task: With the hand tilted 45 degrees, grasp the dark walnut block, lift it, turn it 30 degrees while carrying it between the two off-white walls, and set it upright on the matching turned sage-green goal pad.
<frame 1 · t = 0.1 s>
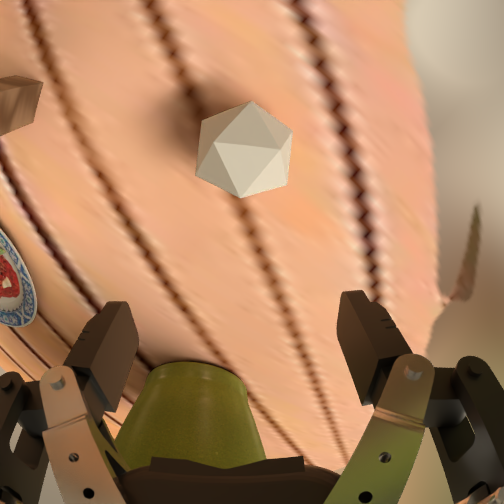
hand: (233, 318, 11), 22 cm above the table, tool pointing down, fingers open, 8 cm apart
walnut block: (24, 98, 23), on the table
plant pot: (195, 385, 52), on the table
die: (244, 142, 29), on the table
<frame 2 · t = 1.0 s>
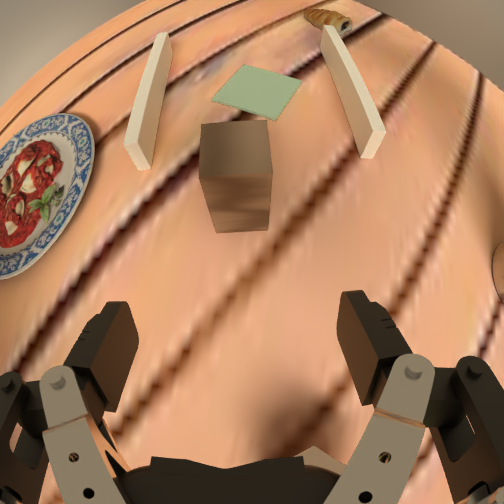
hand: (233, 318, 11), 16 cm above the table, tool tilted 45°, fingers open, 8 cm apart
walnut block: (241, 208, 30), on the table
arena: (250, 90, 36), on the table
ceramic plate: (27, 194, 32), on the table
die: (300, 478, 21), on the table
pastry: (327, 27, 43), on the table
goal pad: (258, 90, 36), on the table
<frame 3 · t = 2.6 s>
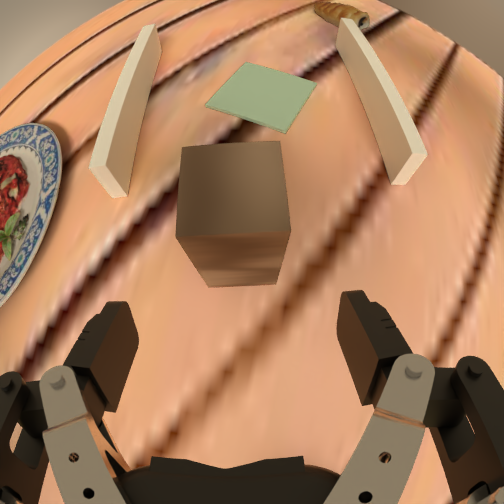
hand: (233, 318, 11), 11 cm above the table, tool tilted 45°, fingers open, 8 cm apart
walnut block: (240, 254, 23), on the table
arena: (254, 94, 29), on the table
pastry: (341, 23, 37), on the table
goal pad: (263, 94, 29), on the table
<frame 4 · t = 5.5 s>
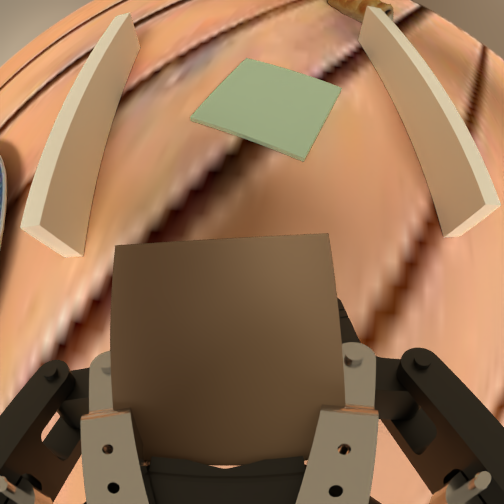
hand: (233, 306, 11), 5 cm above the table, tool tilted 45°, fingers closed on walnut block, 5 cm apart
walnut block: (241, 354, 15), on the table, touching gripper
arena: (258, 102, 21), on the table
pastry: (359, 17, 29), on the table
goal pad: (270, 101, 21), on the table
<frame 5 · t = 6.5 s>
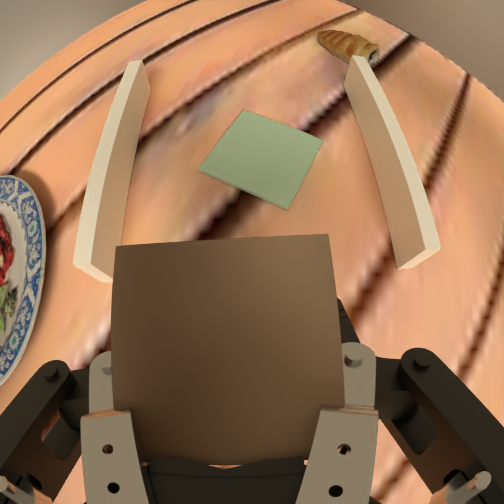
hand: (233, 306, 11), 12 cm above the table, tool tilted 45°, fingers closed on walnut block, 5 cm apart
walnut block: (241, 354, 15), point 7 cm above the table, touching gripper
arena: (253, 155, 28), on the table
pastry: (347, 56, 36), on the table
goal pad: (263, 154, 28), on the table
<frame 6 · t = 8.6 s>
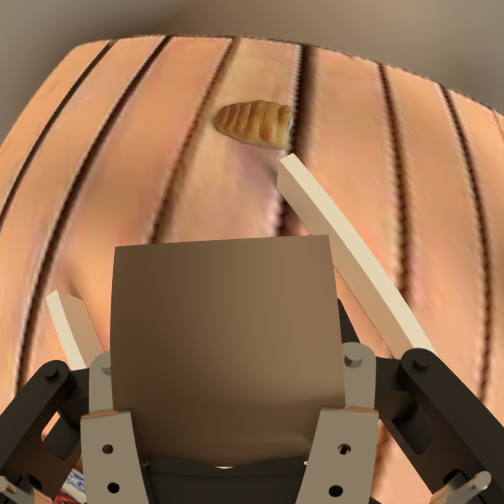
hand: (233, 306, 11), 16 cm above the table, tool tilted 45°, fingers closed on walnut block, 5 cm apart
walnut block: (241, 354, 15), point 11 cm above the table, touching gripper
arena: (237, 348, 26), on the table
pastry: (258, 132, 35), on the table
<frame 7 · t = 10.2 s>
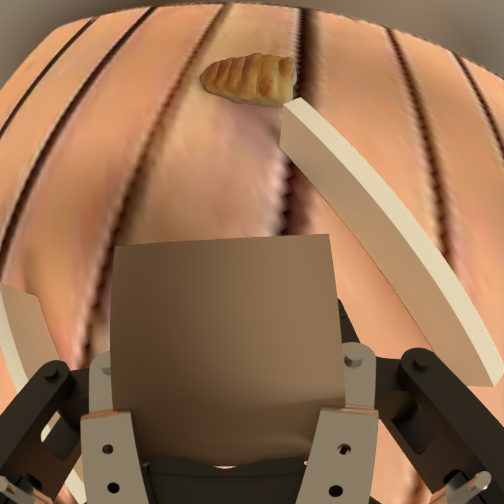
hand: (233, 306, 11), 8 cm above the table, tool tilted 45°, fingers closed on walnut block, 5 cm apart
walnut block: (241, 354, 15), point 4 cm above the table, touching gripper
arena: (233, 359, 19), on the table
pastry: (255, 90, 27), on the table
when the fingers open (6 cm above the table, at t = 11.0 s): walnut block drops 1 cm, resting on goal pad.
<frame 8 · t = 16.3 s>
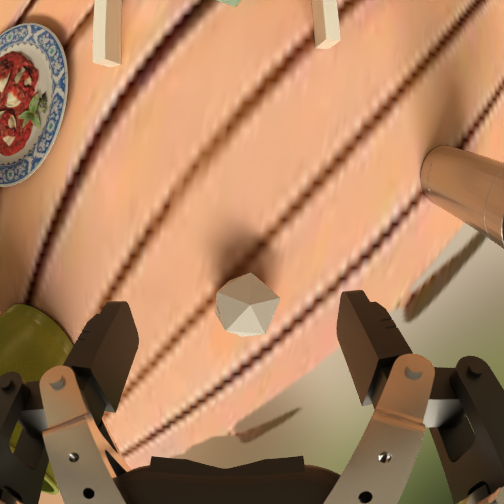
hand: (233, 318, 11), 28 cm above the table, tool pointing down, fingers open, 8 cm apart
ceramic plate: (12, 103, 29), on the table
plant pot: (41, 338, 48), on the table
die: (245, 289, 44), on the table
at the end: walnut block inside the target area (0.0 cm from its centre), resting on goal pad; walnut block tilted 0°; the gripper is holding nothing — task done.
